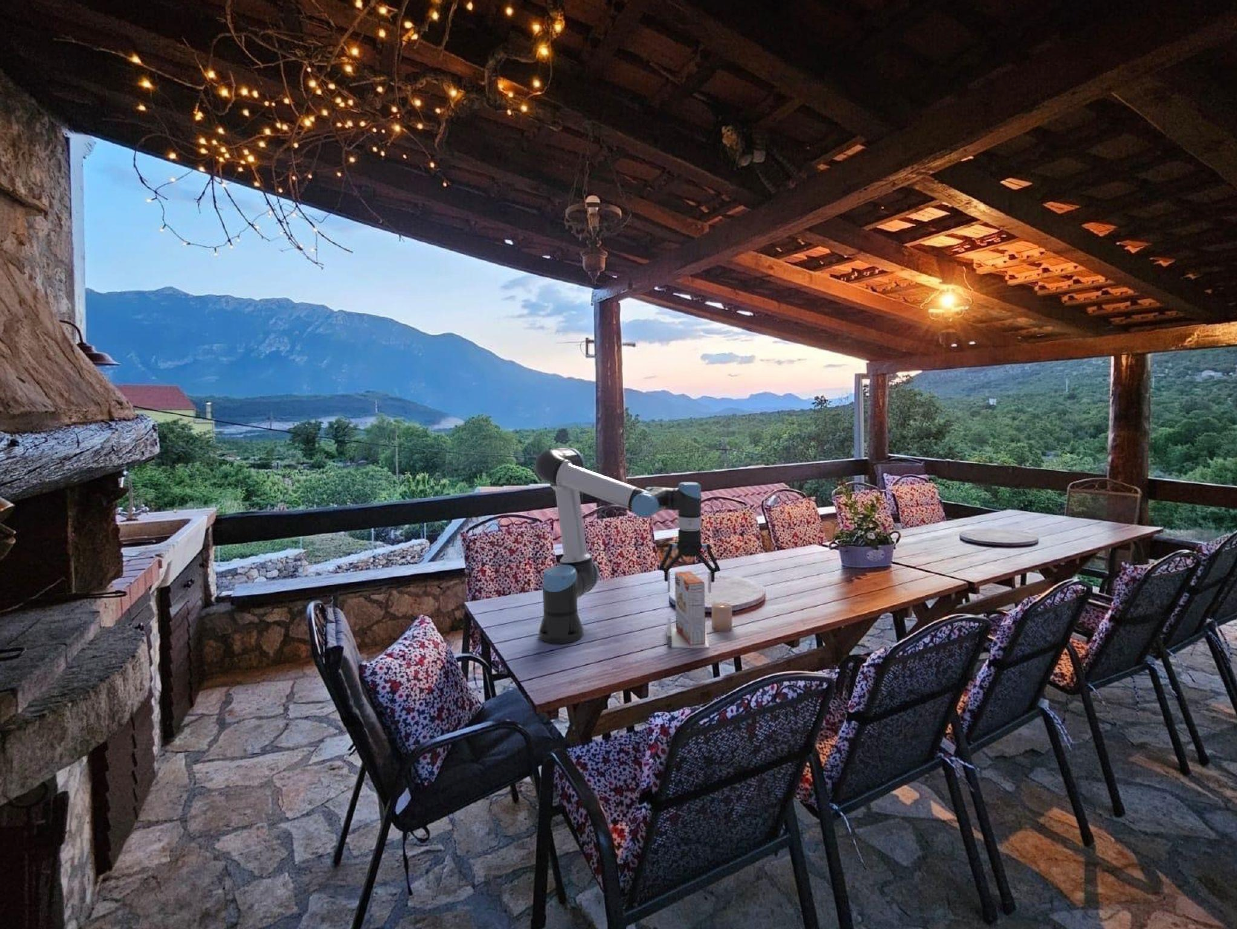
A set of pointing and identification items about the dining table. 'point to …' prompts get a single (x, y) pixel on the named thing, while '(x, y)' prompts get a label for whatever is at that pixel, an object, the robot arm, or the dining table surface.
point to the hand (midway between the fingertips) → (689, 591)
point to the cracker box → (690, 607)
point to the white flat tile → (680, 639)
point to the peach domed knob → (721, 617)
